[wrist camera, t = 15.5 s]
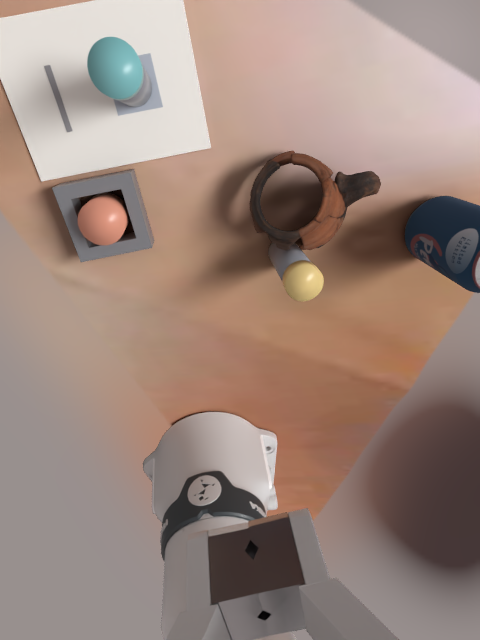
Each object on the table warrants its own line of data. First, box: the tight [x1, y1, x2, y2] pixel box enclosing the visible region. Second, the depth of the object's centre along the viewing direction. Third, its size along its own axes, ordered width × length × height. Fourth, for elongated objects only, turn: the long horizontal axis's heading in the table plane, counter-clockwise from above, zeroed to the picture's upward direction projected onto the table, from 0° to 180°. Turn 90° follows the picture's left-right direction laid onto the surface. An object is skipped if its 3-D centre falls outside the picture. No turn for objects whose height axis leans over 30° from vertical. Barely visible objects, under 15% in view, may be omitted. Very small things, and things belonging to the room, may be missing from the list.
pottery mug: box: [250, 151, 381, 250], centre depth 38 cm, size 12×10×8 cm
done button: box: [78, 193, 130, 245], centre depth 36 cm, size 4×4×4 cm
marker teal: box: [87, 37, 152, 107], centre depth 29 cm, size 3×3×9 cm
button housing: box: [52, 169, 154, 262], centre depth 37 cm, size 7×7×2 cm
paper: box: [0, 0, 211, 181], centre depth 34 cm, size 12×16×1 cm
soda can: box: [405, 196, 480, 293], centre depth 38 cm, size 7×7×12 cm
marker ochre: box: [268, 242, 324, 301], centre depth 38 cm, size 3×3×9 cm
